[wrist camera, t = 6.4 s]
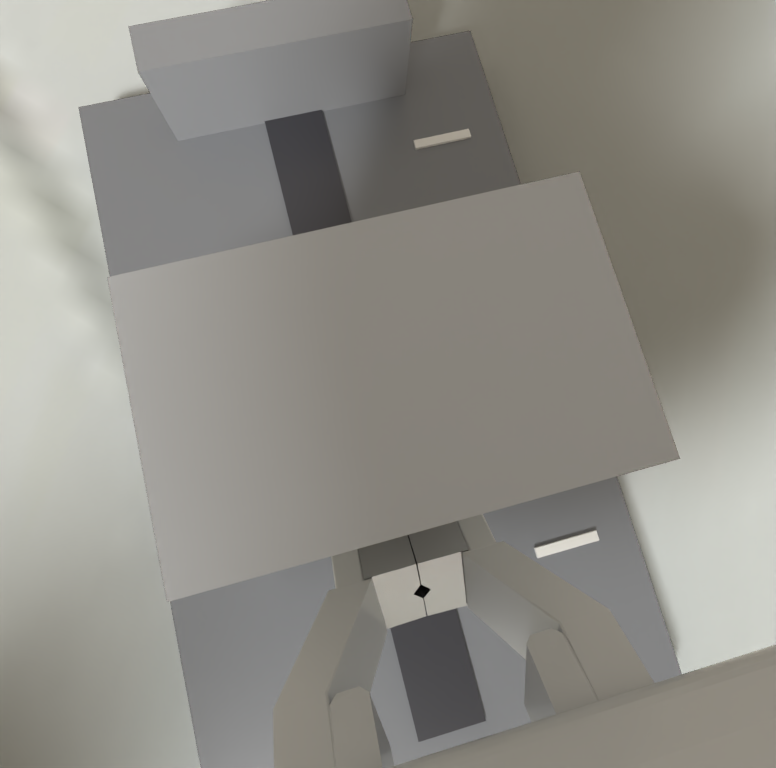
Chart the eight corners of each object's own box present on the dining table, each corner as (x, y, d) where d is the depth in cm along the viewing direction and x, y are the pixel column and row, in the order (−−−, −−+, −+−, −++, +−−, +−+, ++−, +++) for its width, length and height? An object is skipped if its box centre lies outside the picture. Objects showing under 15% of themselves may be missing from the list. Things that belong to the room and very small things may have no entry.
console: (667, 704, 16) (785, 796, 12) (238, 843, 15) (182, 1006, 10) (462, 65, 20) (490, -55, 15) (102, 137, 19) (17, 31, 14)
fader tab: (475, 464, 15) (679, 458, 5) (301, 511, 15) (167, 602, 5) (445, 358, 16) (580, 171, 6) (275, 401, 15) (106, 277, 5)
